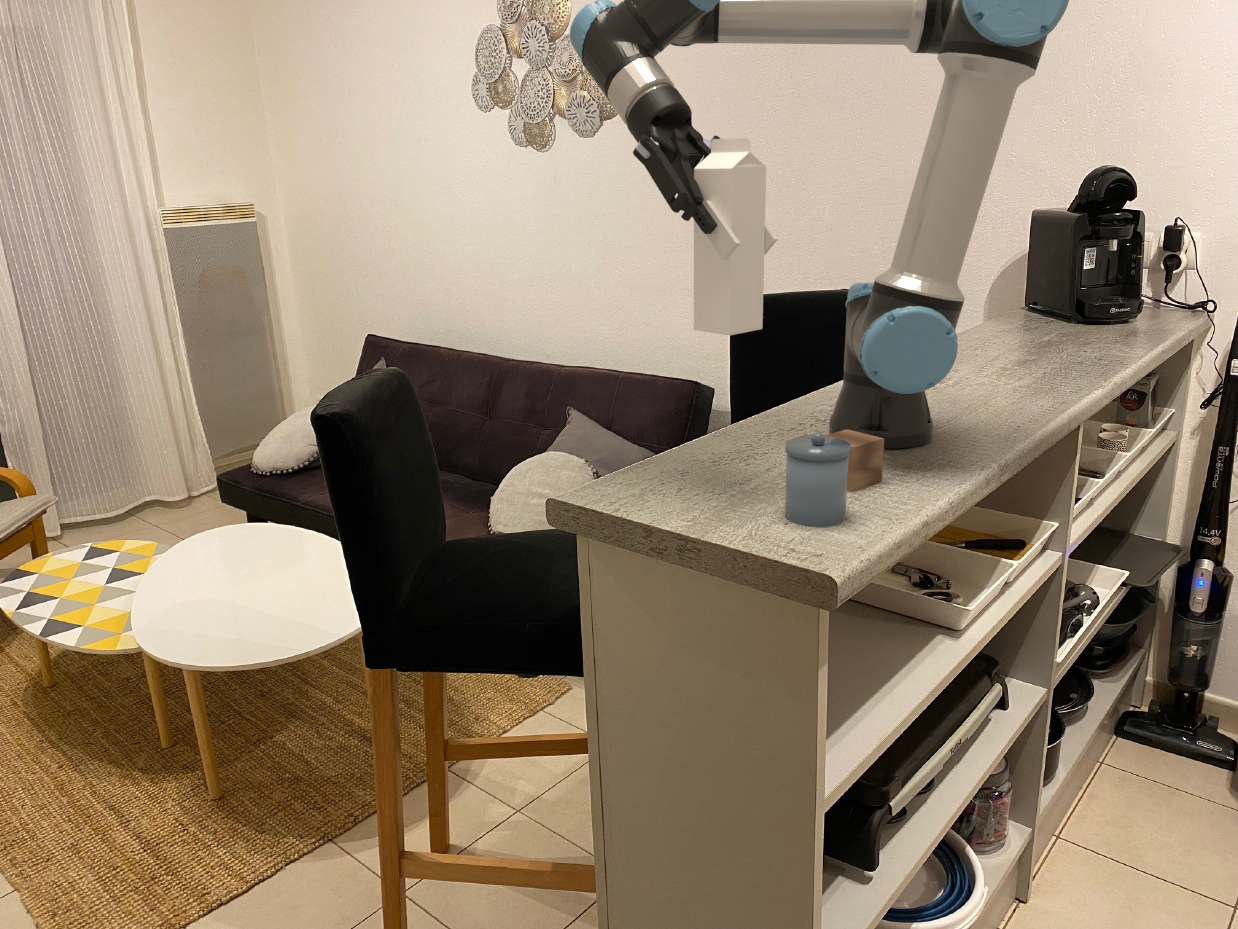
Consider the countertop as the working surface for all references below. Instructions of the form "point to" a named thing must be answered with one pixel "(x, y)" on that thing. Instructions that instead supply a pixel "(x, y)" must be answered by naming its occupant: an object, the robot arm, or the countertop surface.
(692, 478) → the countertop surface
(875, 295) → the robot arm
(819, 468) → the slate jar
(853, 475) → the walnut block
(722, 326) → the milk
